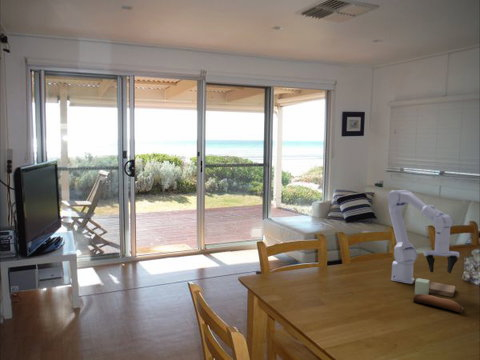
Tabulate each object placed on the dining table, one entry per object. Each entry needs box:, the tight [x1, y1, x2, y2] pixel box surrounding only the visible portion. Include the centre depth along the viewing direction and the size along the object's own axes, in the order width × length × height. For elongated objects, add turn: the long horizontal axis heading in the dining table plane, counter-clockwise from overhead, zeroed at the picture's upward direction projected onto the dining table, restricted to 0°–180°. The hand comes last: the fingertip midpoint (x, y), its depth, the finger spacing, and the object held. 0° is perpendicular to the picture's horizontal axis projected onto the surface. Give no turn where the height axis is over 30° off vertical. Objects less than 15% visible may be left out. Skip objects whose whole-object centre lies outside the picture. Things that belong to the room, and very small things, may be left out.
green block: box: [414, 277, 430, 295], centre depth 183 cm, size 5×5×6 cm
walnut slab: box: [429, 281, 456, 298], centre depth 186 cm, size 10×10×2 cm
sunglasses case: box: [412, 294, 465, 314], centre depth 169 cm, size 18×7×7 cm
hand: (440, 272), depth 183 cm, fingers open, 7 cm apart
